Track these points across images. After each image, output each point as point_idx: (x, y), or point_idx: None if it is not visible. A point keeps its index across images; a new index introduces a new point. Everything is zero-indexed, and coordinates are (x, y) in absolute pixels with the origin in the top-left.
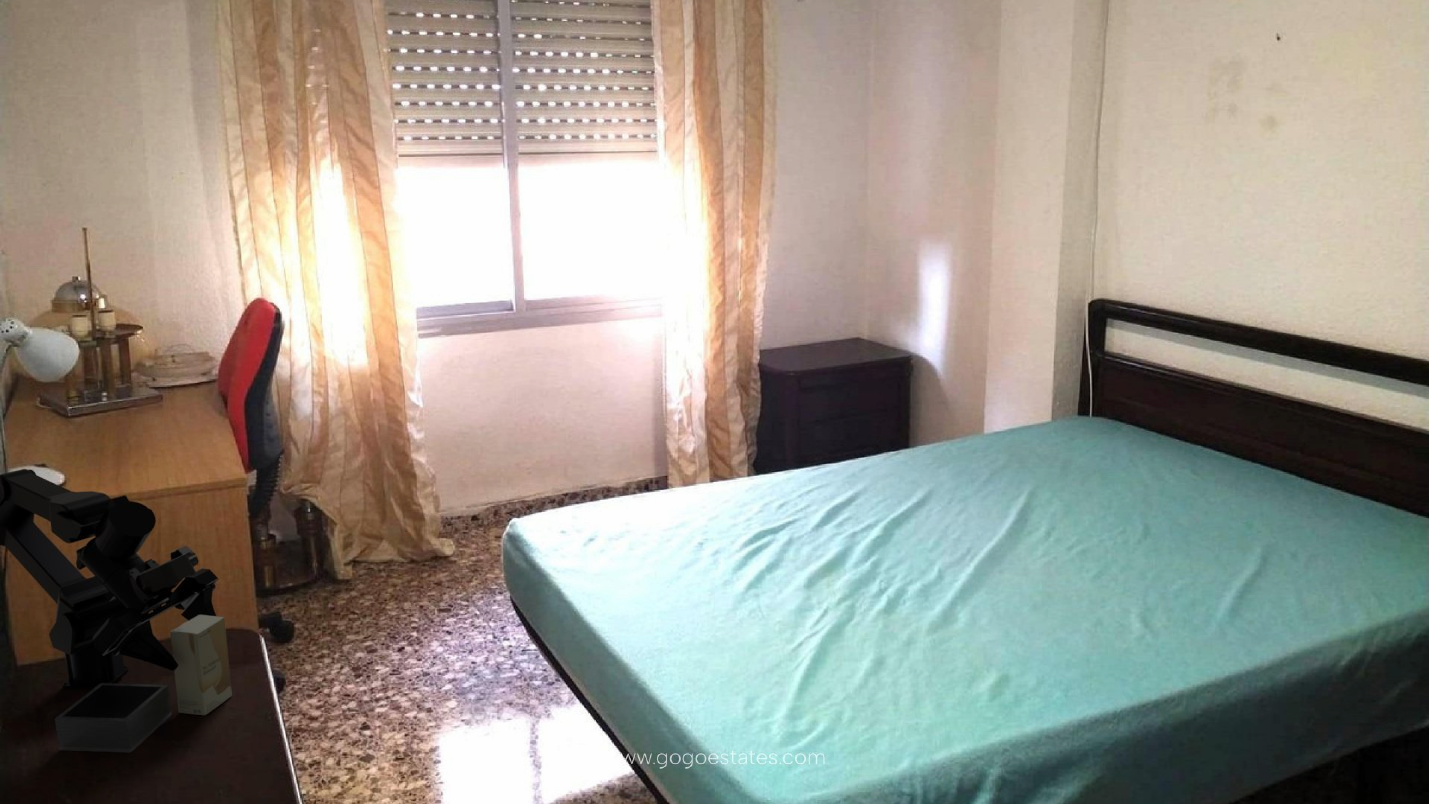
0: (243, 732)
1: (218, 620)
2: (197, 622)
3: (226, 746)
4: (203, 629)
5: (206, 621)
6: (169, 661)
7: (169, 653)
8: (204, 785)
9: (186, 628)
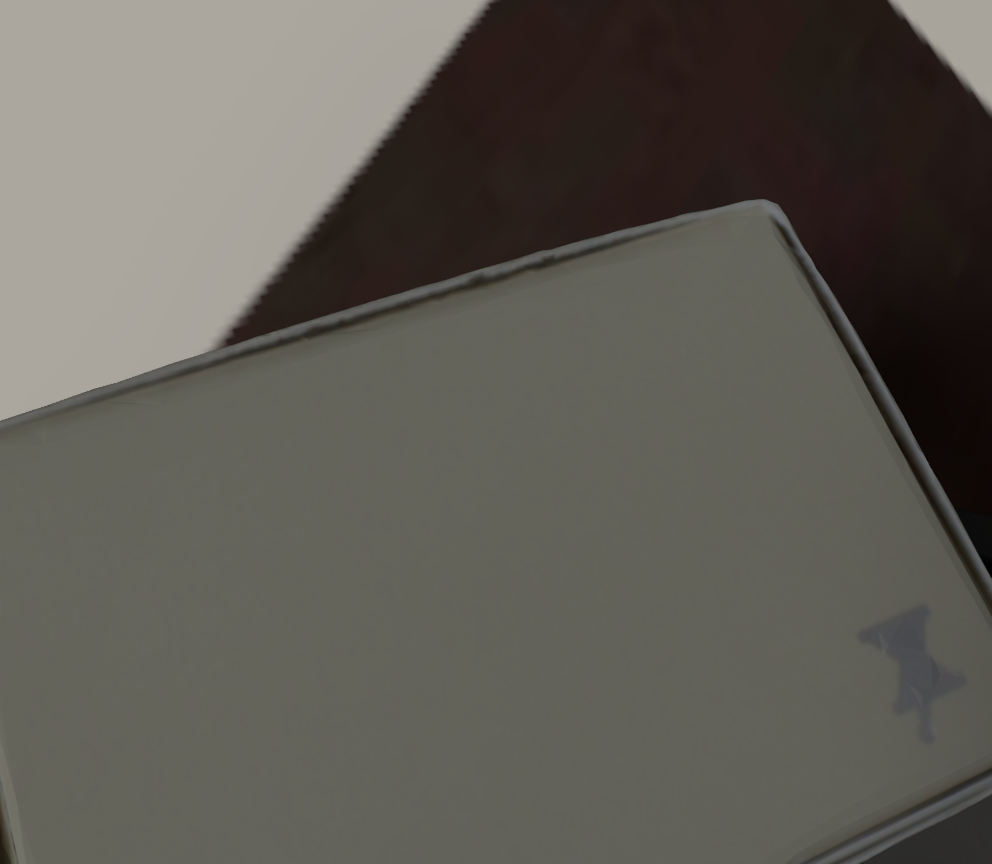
0: (512, 206)
1: (123, 407)
2: (472, 664)
3: (641, 173)
4: (585, 274)
5: (318, 544)
6: None
7: (983, 548)
8: (858, 21)
9: (797, 557)
